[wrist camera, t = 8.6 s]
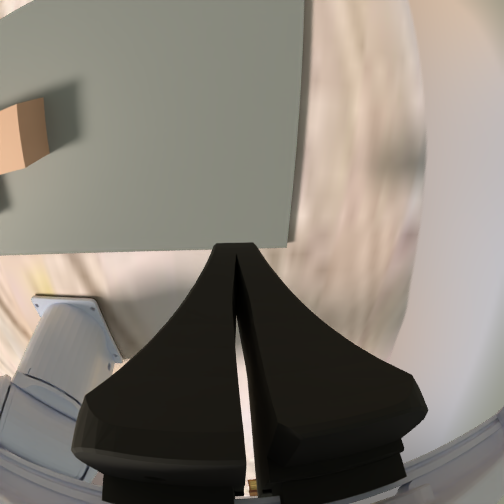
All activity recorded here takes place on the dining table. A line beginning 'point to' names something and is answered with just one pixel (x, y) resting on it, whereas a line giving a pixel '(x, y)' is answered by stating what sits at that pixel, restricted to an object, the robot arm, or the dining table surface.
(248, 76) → the board
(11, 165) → the t block
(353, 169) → the dining table surface
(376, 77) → the dining table surface
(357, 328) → the dining table surface
